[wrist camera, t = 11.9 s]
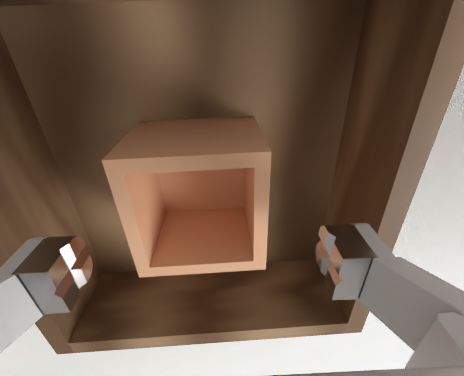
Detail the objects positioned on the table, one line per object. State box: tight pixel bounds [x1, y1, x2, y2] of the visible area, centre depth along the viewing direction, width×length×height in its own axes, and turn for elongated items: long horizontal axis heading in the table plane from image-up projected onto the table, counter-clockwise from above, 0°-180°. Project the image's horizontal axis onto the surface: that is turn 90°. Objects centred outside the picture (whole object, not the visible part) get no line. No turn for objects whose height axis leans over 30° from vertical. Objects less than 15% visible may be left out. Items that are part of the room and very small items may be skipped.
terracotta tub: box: [102, 116, 271, 277], centre depth 13 cm, size 6×6×5 cm
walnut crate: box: [0, 0, 464, 354], centre depth 13 cm, size 18×18×6 cm
